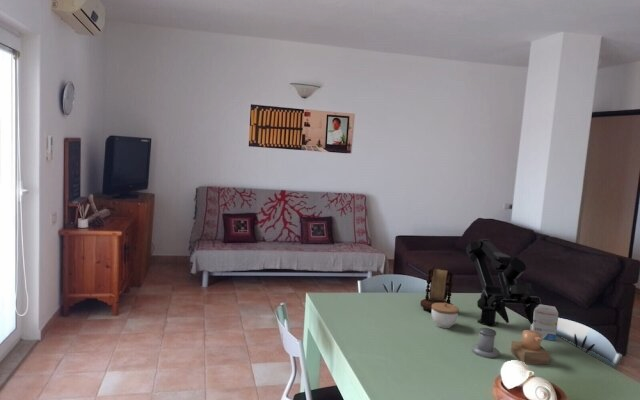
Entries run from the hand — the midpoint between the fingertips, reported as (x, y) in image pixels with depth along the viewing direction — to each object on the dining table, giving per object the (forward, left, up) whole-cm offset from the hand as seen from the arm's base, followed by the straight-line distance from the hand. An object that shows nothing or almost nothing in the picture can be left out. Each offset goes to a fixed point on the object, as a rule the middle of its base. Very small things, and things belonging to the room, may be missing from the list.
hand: (519, 323), depth 168 cm
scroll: (-12, -41, -10) cm, 44 cm away
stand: (+5, +6, -9) cm, 13 cm away
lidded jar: (+3, -29, -10) cm, 30 cm away
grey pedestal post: (+14, -6, -9) cm, 18 cm away
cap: (+5, +6, -5) cm, 10 cm away
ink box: (-22, +1, -10) cm, 24 cm away
